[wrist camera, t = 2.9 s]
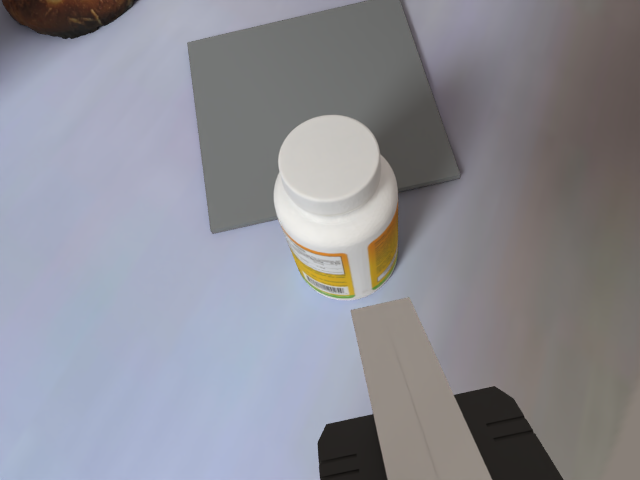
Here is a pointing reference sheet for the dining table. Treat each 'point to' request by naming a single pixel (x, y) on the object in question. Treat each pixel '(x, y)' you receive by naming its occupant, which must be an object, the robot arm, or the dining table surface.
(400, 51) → the mat
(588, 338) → the dining table surface
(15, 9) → the bread roll
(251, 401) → the dining table surface
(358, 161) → the supplement bottle
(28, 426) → the dining table surface
